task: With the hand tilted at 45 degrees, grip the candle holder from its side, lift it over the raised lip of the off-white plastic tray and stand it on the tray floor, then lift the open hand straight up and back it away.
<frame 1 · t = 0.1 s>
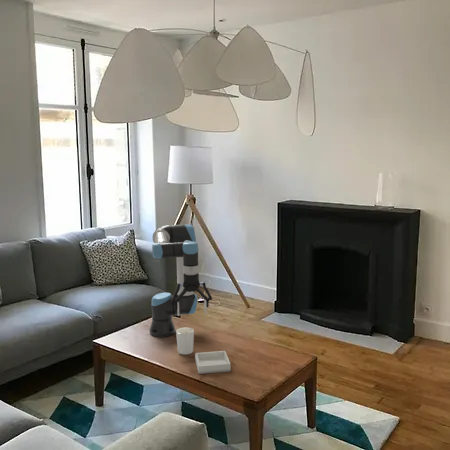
hand: (192, 314, 260), 28 cm above the table, tool pointing down, fingers open, 13 cm apart
lipped tray: (212, 365, 266), on the table
candle holder: (185, 351, 283), on the table
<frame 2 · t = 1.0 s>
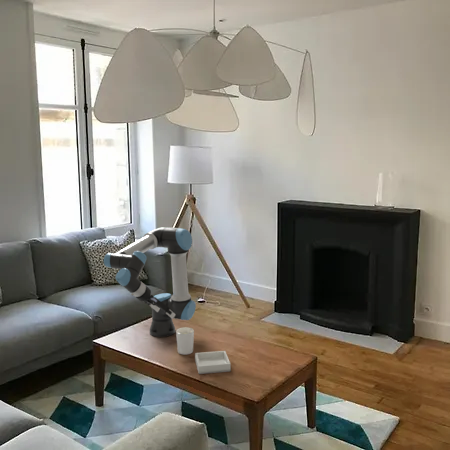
hand: (166, 313, 271), 25 cm above the table, tool tilted 45°, fingers open, 13 cm apart
nothing on the table moved.
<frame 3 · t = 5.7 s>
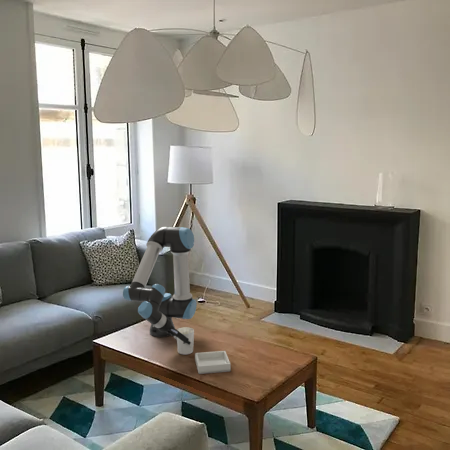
hand: (187, 343, 283), 4 cm above the table, tool tilted 45°, fingers closed on candle holder, 9 cm apart
candle holder: (185, 351, 283), on the table, touching gripper
when the fingers open (6 cm above the table, at t = 12.7 s): candle holder stays where it is, resting on lipped tray.
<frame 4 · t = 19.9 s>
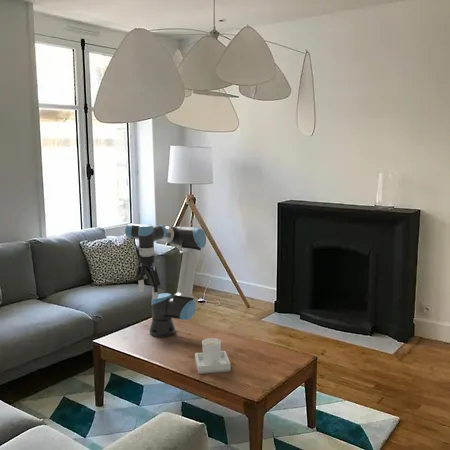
hand: (148, 295, 269), 35 cm above the table, tool pointing down, fingers open, 13 cm apart
candle holder: (211, 364, 266), point 1 cm above the table, touching lipped tray
at the end: candle holder inside the target area on the lipped tray (0.4 cm from its centre), point 0.8 cm above the lipped tray's base; candle holder tilted 0°; the gripper is holding nothing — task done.
